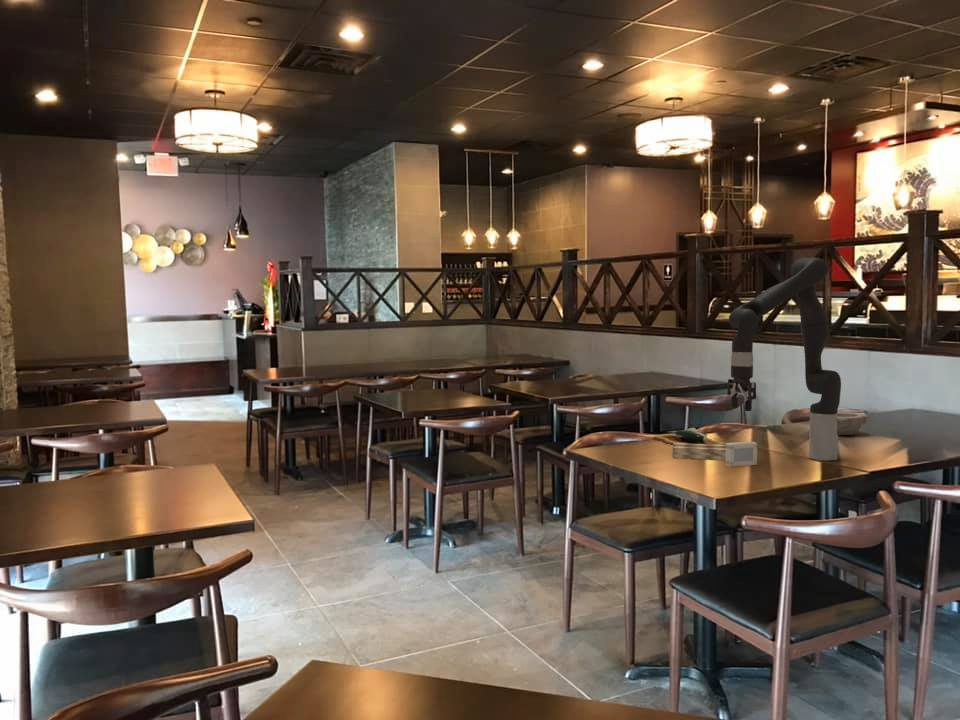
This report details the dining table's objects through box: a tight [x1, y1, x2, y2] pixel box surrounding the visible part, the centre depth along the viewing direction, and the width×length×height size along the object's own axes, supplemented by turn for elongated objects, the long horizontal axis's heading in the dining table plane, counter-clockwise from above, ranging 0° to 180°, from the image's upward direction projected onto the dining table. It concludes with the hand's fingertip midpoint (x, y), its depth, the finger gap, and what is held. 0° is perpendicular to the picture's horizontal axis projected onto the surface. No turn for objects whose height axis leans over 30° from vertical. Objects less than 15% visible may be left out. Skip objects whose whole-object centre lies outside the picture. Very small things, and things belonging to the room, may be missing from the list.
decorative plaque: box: [652, 427, 726, 446], centre depth 312 cm, size 30×7×20 cm
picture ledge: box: [672, 443, 726, 461], centre depth 283 cm, size 28×10×4 cm, turn 75°
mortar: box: [837, 411, 870, 436], centre depth 329 cm, size 17×17×9 cm
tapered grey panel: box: [724, 441, 758, 467], centre depth 270 cm, size 11×3×8 cm, turn 105°
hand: (741, 409), depth 269 cm, fingers open, 8 cm apart
